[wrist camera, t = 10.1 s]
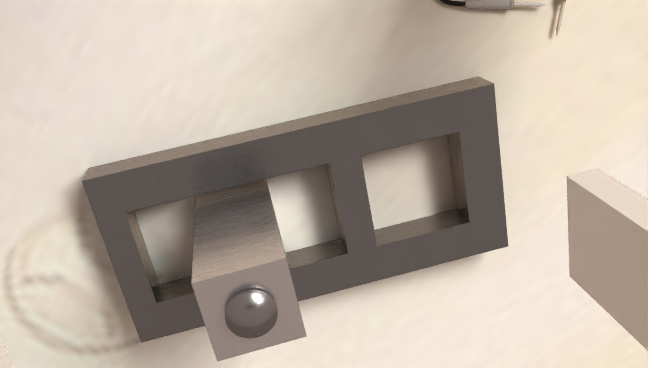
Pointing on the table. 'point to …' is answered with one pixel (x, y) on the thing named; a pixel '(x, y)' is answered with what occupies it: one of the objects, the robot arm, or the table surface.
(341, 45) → the table surface
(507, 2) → the multimeter
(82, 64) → the table surface
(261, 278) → the grey tall block
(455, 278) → the table surface
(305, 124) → the grey flat frame
